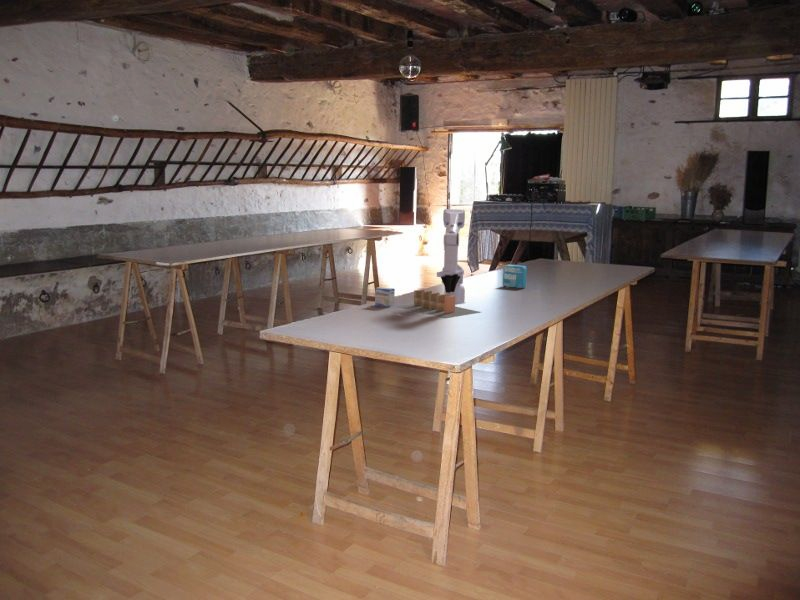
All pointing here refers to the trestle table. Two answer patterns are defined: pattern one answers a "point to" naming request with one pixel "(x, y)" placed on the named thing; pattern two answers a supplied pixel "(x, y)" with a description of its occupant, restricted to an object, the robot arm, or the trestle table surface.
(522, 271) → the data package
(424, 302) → the domino
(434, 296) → the domino
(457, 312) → the mat
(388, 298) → the medicine box
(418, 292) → the domino
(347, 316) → the trestle table surface
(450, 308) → the domino
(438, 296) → the domino
